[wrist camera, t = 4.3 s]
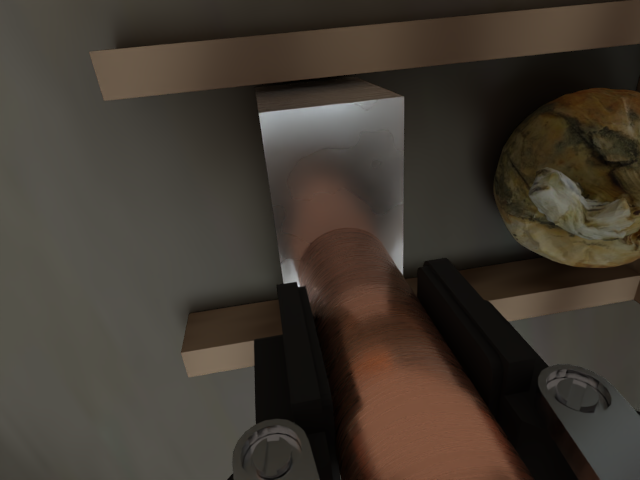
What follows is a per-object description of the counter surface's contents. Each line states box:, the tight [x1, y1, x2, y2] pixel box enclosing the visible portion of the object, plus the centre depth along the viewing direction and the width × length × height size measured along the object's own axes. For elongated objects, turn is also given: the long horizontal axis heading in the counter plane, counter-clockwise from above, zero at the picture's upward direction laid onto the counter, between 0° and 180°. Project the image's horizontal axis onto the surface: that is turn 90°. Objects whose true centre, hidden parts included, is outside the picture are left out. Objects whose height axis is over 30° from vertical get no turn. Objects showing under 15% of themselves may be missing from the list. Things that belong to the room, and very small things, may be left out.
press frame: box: [89, 0, 640, 377], centre depth 17 cm, size 25×14×7 cm, turn 95°
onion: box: [493, 88, 640, 268], centre depth 18 cm, size 8×8×8 cm
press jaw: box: [255, 77, 535, 480], centre depth 12 cm, size 4×10×15 cm, turn 5°
